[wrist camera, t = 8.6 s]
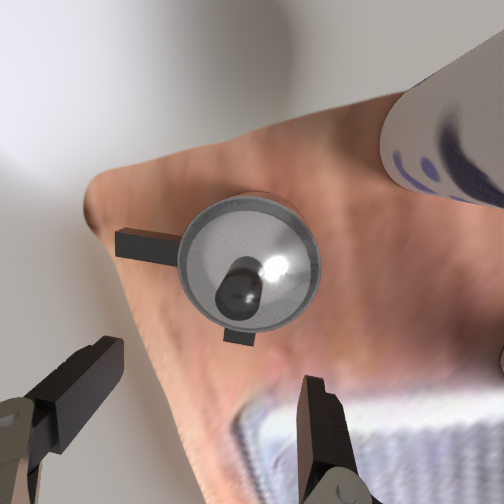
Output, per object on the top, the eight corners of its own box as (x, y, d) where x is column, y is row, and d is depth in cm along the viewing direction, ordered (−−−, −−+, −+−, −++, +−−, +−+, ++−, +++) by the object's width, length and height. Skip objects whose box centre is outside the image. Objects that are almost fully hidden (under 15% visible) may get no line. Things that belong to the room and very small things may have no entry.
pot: (324, 198, 28) (336, 208, 22) (298, 321, 33) (301, 361, 26) (147, 173, 30) (107, 175, 23) (145, 295, 34) (111, 326, 27)
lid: (322, 220, 22) (334, 238, 16) (297, 333, 25) (300, 379, 20) (194, 200, 23) (165, 210, 17) (185, 312, 26) (158, 351, 20)
